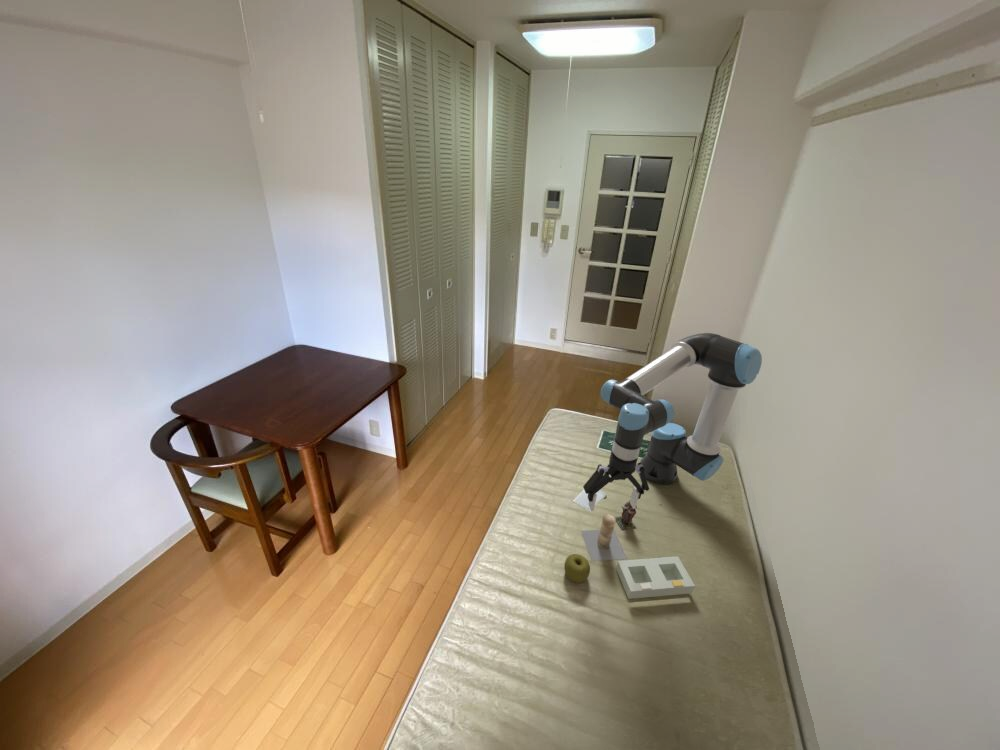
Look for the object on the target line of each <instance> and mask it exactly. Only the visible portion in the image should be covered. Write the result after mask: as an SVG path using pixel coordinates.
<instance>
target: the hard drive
mask: <svg viewBox="0 0 1000 750" xmlns="http://www.w3.org/2000/svg"><path fill="white" fill-rule="evenodd" d="M596 494H597V497H596V502H595V506H597V504H598V503H599V502H600V500H605V499H606V497H608V495H607V493H605V492H604V491H601V489H600V490H599V491H598V492H597V493H596ZM572 502H573V503H575V504H576V505H578V506H580V507H582V508H583V509H584V510H587V511H588V512H590V513H591V512H592V511H591V509H590V507H589V500H588V494H586V493H585V490H584V489H583V490H581V491H580V493H578V494H577V496H576V497H575V498H573V500H572Z"/></svg>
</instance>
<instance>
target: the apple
mask: <svg viewBox="0 0 1000 750" xmlns="http://www.w3.org/2000/svg"><path fill="white" fill-rule="evenodd" d="M564 571H565V572H564V573H565V576H566V577H567V578H568V579H569V581H571V582H573V583H575V584H579V583H583V582H585V581H586V580H587V579H588V578H589V575H590V572H591V565H590V563H589V561H588V559H587V558H586V557H585V556H583V555H581V554H578V553H572V554H570V555H568V556H567V557H566V558H565V562H564Z"/></svg>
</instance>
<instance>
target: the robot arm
mask: <svg viewBox="0 0 1000 750" xmlns="http://www.w3.org/2000/svg"><path fill="white" fill-rule="evenodd" d="M762 362H763V358H762V354H761V351H760V350H759V349H758V348H756V347H753V346H750V345H749V344H747V343H744V342H740V341H737V340H735V339H732V338H728V337H725V336H722V335H721V334H718V333H717V334H716V333H712V332H711V333H710V332H704V333H695V334H692V335H689V336H686V337H683V338H681V339H679V340H677V342H675V343H673V344H672V345H671V348H670V349H669V350H667V351H666V352H664V353H663V354H661V355H660V356H659V357H657V358H655V359H654V360H652V361H651V362H649V363H648V364H646V365H644V366H643V367H641V368H640V369H638V370H636V371H635V372H634V373H632V374H630V375H628V376H627V377H626V378H625V379H623V380H620V381H618V380H615V379H609V380H607V381H605V383H603V385H602V387H601V389H600V398H601V400H603V401H605V402H606V403H607V404H608V405H609V406H612V407H614V408H615V409H617V410H619V411H620V413H619V415H618V417H617V425H616V431H615V434H614V438H613V441H612V442H613V443H612V447H611V451H610V456H609V463H608V464H607V466H603V465H602V464H601V463H600V464H598V465H597V468H596V470H594V472H593V474H592V475H591V476H590V477H589V478H588V480H587V481H586V482H585V484H584V485H583V487H582V489H583V490H585V493H586V494H588V500H589V507H590V509H591V511H590V512H594V511H595V506H596V505H595V502H596V497H597V494H596V493H597V492H598V491H599V490H600V491H601V489H603V488H604V487H605V486H607V485H608V484H609V483H612V482H614V481H619V480H621V481H625V480H626V479H627V480H628V481H630V482H631V483H632V485H633V488H632V491H631V496H630V499H629V500H630V504H631V506H632V508H633V509H635V510H636V509H637V508H636V505H637V503H638V501H639V500H640V499H641V496H642V495H644V494H645V491H647V492H648V491H650V486H649V484H648V481H649V482H651V483H655V484H657V485H671V484H673V483H674V482H675V481H676V479H677V477H678V468H680V469H682V470H684V471H686V473H688V474H690V475H691V476H692V477H695V478H696V479H698V480H700V481H707V480H709V479H710V478H712V477H713V476H714V475H715V474H716V473H717V472H718V470H719V469H720V468H721V466H722V464H723V463H724V457H723V456H722V455H721V454H720V453H721V446H720V445H719V441H720V439H721V436H722V434H723V431H724V428H725V427H726V424H727V421H728V418H729V415H730V412H731V410H732V407H733V405H734V402H735V400H736V397H737V394H738V391H739V390H740V389H743V388H745V387H746V386H747V385H749V384H751V383H753V382H754V381H755V379H756V378H757V376H758V375H759V372H760V371H761V367H762ZM694 365H698V366H699V365H700V366H702V367H704V368H706V369H708V371H709V372H708V374H707V378H708V379H709V381H710V384H709V386H708V390H707V392H706V395H705V398H704V401H703V404H702V406H701V410H700V413H699V416H698V419H697V422H696V425H695V427H694V431H693V434H692V435H689V436H686V435H687V431H686V429H685V428H684V427H683V426H681V425H679V424H677V423H673V422H672V421H673V419H674V418H675V409H674V407H673V405H672V404H671V403H670V402H669V401H667V400H666V399H655V400H652V399H651V398H648V397H647V396H645V395H646V394H647V393H649V392H650V391H651V390H653V389H655V388H656V387H658V386H659V385H660V384H662V383H663V382H665V381H667V380H668V379H669V378H671V377H672V376H674V375H676V373H678V372H680V371H681V370H683V369H685V368H691V367H693V366H694ZM649 433H651V436H650V441H649V444H648V448H647V452H646V453H645V455H644V456H643V458H641V460H640V462H638V457H639V455H640V451H641V449H642V448H641V446H642V443H643V439H644V437H645V435H648V434H649ZM637 462H638V463H637ZM635 471H636V472H637V474H638V477H639V479H640V483H641V484H640V483H639V482H638V481H637V479H636V478H635V477H634V475H633V473H635Z"/></svg>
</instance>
